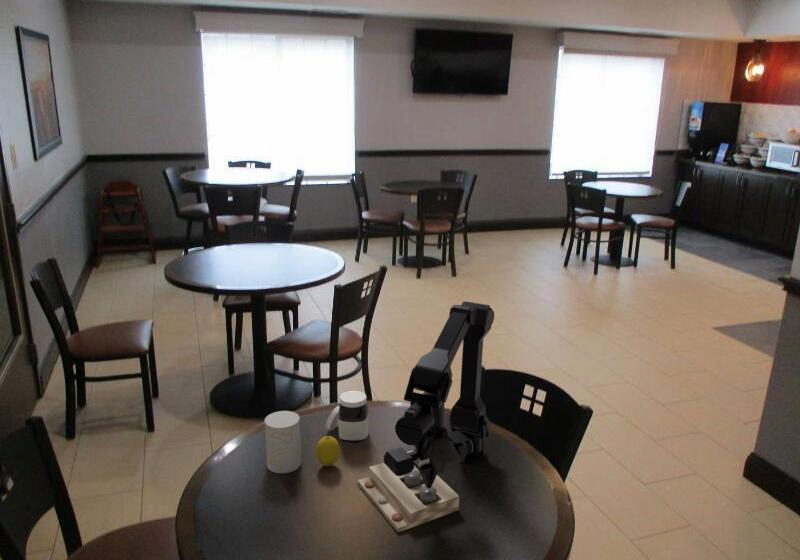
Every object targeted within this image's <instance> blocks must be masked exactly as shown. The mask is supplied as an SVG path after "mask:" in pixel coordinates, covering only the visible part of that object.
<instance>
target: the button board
mask: <svg viewBox="0 0 800 560" xmlns="http://www.w3.org/2000/svg"><path fill="white" fill-rule="evenodd" d="M368 468H369V470H368V474H369V476H367V477H363V478H360V479H357V485H358V486H359V487H360V489H361V490H362V491H363V492H364V494H365V495H366V496H367V497H368V499H370V501H371V502H372V504H373V505H374V506H375V507H376V508H377V509H378V511H380V513H381V514H382V515H383V517H384V518H385V519H386V520H387V522H388V523H389V524H390V525H391V526H392V527H393V528H394V530H395V531H396V533H401V532H403V531H406V530H409V529H411V528H414V527H417V526H420V525H423V524H426V523H428V522H430V521H433V520H436V519H438V518H441V517H444V516H446V515H449V514H452V513H454V511H455V512H457V511H459V510H460V496H459V494H458V493H457V492H455V491H454V490H453V489H452V488H451V487H450V486H449V485H448V484H447V483H446V482H445V481H444V480H443V479H442V478H441V477H440V476H439V475H438V474H437V475H436V478H435V480H434V482H433V485H432V487H434V488H435V489H436V490H437V496H436V502H434V503H431V504H428V505H425V504H423V503H422V502H421V501H420V488H421V487H423V486H425V484H424V482H423V479H422V477H421V485H420V486H417V487H414V488H408V487H407V486H406V485H405V484H404V480H405V475H402V476H396V475H395V474H394V473H393V472H392V471H391V470H390V469H389V468H388V467H387V466H386V465H385V463H384V462H380V463H378V464H375V465H372V466H369V467H368ZM413 470H414V471H418V472H419V470H418V469H417V468H416V467H415V466H414V469H413Z"/></svg>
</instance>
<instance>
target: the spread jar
mask: <svg viewBox="0 0 800 560" xmlns="http://www.w3.org/2000/svg"><path fill="white" fill-rule="evenodd" d="M339 402H340V403H339V405H337V406H336V407H335V408H334V409H333V410H332V411H331V413H330V414H329V416H328V418H327V419H326V423H325V428H326V430H328V431H331V432H332V431H334V430H335V429H336V428H337V427H338V436H339V440H340V441H342V442H344V443H346V444H351V445H352V444H353V445H354V444H360V443H362V442H365V441H366V440H367V439H368V435H369V405H368V402H367V395H366V393H364V392H363V391H359V390H349V391H345V392H342V393H341V394H340V395H339Z"/></svg>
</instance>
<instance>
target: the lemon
mask: <svg viewBox="0 0 800 560" xmlns="http://www.w3.org/2000/svg"><path fill="white" fill-rule="evenodd" d="M340 449H341V448H340V445H339V442H338V440H337V439H336V438H335V437H333V436H330V435H327V436H324V437H322V438H321V439H320V440H319V441H318V442H317V445H316V457H317V460H318V463H321V465H324V466H326V467H329V466H331V465H334V464H335V463H336V462H337V461H338V459H339V457H340V451H341V450H340Z"/></svg>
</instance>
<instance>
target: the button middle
mask: <svg viewBox="0 0 800 560" xmlns="http://www.w3.org/2000/svg"><path fill="white" fill-rule="evenodd" d="M404 484H405V485H406V486H407V487H408V488H414V487H417V486H420V485H421V475H420V473H419V472H418V471H414V470H412V472H411V473H408V474H405V480H404Z"/></svg>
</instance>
